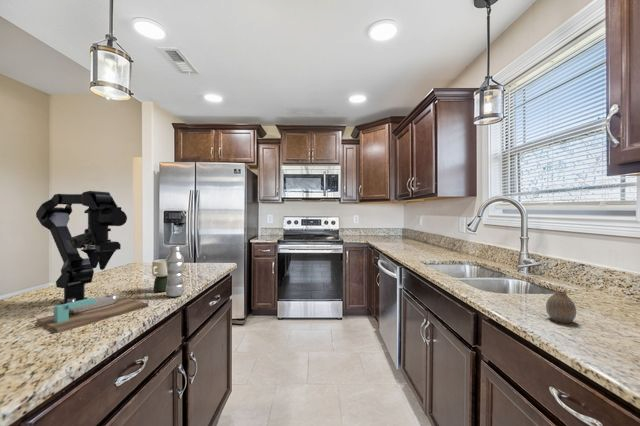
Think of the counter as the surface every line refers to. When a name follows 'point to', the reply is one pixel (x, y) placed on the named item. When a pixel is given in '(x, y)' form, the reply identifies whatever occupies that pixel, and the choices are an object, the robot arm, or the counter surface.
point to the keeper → (63, 310)
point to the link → (99, 302)
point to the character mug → (159, 274)
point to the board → (93, 315)
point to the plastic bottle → (174, 272)
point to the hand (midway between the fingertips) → (98, 268)
